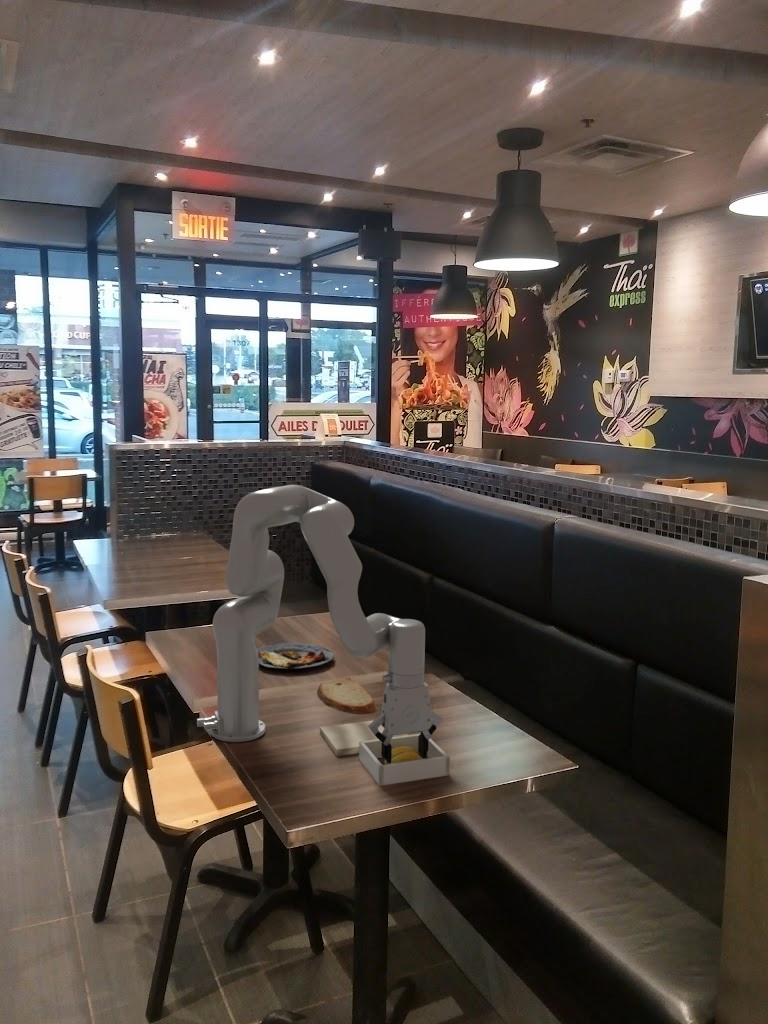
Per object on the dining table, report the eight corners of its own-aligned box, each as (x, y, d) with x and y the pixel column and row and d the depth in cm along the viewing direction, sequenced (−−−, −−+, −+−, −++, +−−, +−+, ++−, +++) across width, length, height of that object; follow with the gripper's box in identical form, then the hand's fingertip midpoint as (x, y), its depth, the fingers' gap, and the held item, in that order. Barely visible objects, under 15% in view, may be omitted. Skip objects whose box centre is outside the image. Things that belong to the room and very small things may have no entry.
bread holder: (379, 785, 169) (380, 767, 168) (358, 759, 181) (359, 741, 181) (449, 775, 174) (449, 757, 174) (424, 749, 187) (424, 733, 186)
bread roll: (416, 756, 183) (417, 739, 182) (428, 775, 174) (428, 757, 174) (380, 759, 181) (380, 742, 181) (389, 778, 173) (390, 760, 172)
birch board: (336, 756, 182) (336, 749, 182) (320, 733, 194) (320, 727, 194) (412, 745, 189) (412, 739, 188) (391, 724, 201) (391, 718, 201)
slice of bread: (372, 716, 206) (372, 701, 206) (303, 708, 211) (304, 694, 210) (388, 691, 224) (389, 678, 223) (325, 684, 228) (325, 671, 227)
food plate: (347, 665, 243) (347, 654, 242) (276, 680, 230) (276, 668, 229) (306, 645, 263) (306, 635, 263) (238, 658, 250) (238, 647, 250)
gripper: (373, 688, 168) (372, 770, 171) (451, 679, 174) (449, 759, 177) (361, 677, 175) (360, 756, 178) (436, 668, 181) (434, 745, 184)
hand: (404, 757), depth 177 cm, fingers closed on bread roll, 7 cm apart
